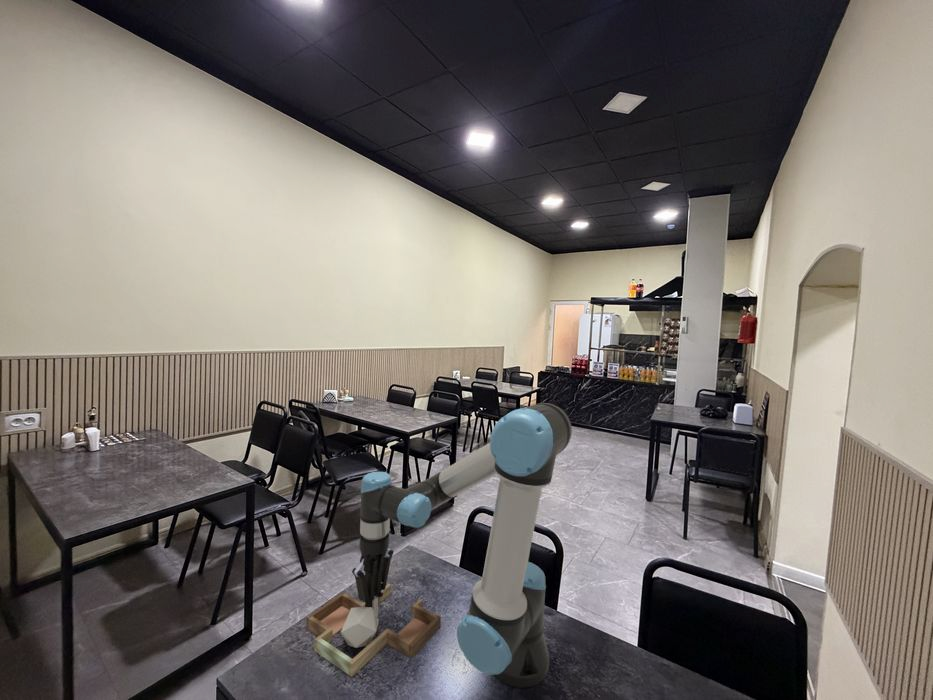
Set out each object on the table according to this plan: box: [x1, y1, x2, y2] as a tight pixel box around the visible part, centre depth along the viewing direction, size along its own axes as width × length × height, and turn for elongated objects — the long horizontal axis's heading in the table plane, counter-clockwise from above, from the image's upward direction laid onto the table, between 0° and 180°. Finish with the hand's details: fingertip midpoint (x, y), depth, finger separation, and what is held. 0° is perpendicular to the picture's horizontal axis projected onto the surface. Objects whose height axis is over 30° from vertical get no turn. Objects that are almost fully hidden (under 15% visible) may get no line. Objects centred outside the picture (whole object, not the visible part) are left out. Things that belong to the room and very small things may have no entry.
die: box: [340, 607, 380, 649], centre depth 97 cm, size 8×9×10 cm
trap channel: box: [305, 583, 442, 678], centre depth 101 cm, size 29×26×3 cm
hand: (371, 621), depth 101 cm, fingers closed
